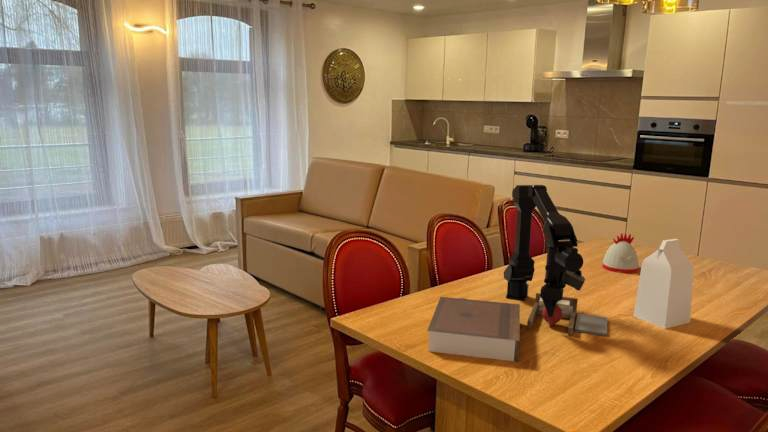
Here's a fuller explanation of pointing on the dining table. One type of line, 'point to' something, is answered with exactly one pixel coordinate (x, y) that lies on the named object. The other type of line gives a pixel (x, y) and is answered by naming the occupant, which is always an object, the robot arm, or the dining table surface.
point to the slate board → (591, 324)
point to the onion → (556, 316)
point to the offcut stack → (562, 304)
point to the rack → (572, 300)
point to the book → (476, 329)
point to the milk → (665, 287)
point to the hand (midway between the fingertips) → (552, 311)
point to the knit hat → (621, 256)
